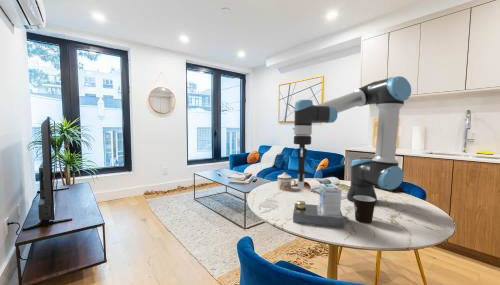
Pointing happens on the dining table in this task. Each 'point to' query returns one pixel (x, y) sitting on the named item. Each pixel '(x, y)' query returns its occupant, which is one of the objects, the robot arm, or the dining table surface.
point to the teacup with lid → (285, 182)
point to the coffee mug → (364, 208)
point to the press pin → (301, 205)
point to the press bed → (317, 217)
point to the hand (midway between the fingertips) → (300, 188)
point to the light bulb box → (330, 199)
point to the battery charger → (391, 189)
